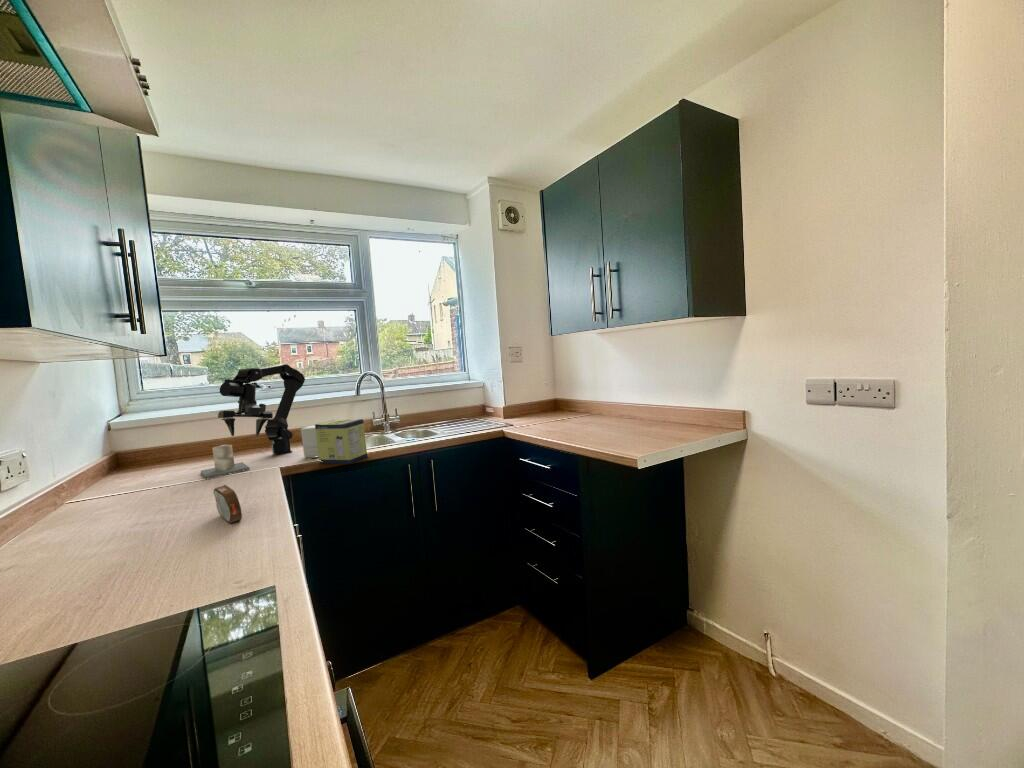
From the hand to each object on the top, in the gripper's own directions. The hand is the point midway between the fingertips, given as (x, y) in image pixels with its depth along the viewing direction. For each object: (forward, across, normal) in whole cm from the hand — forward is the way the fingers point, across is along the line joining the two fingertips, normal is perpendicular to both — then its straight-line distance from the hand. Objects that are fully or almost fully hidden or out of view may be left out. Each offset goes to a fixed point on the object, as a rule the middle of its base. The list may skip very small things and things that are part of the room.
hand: (245, 435), depth 176 cm
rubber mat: (+14, -8, -3) cm, 16 cm away
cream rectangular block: (+13, -8, -3) cm, 15 cm away
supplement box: (+9, +22, -16) cm, 29 cm away
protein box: (+11, +22, -37) cm, 44 cm away
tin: (+22, -28, -64) cm, 74 cm away
